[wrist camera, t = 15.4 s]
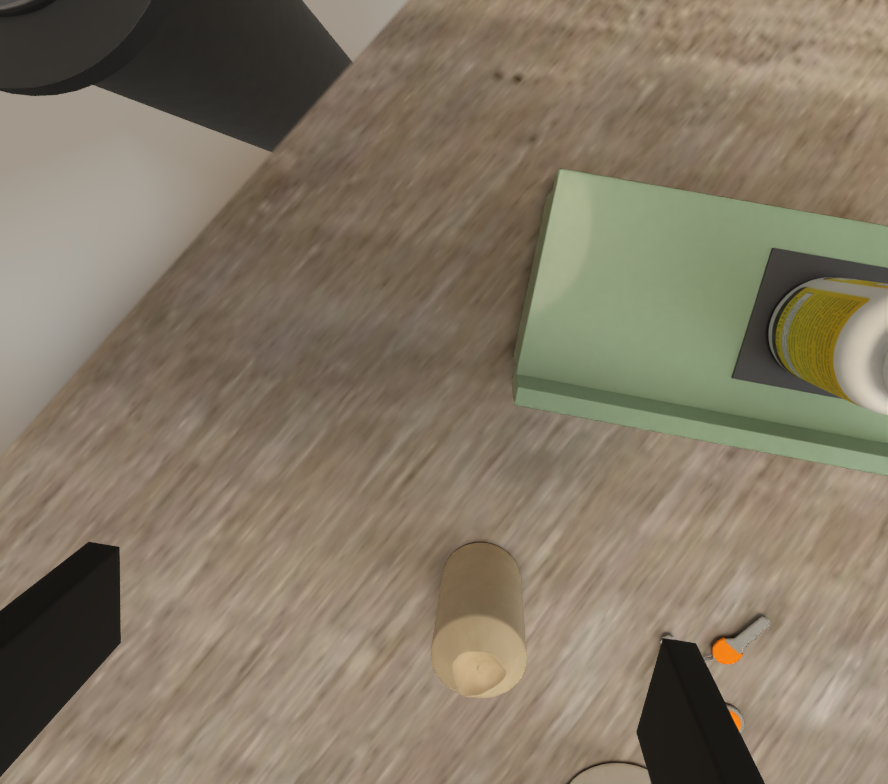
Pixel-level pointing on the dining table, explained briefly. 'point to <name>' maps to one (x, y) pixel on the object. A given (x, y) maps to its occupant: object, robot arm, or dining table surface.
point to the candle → (479, 623)
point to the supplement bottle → (836, 338)
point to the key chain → (734, 655)
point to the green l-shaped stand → (688, 317)
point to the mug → (613, 775)
